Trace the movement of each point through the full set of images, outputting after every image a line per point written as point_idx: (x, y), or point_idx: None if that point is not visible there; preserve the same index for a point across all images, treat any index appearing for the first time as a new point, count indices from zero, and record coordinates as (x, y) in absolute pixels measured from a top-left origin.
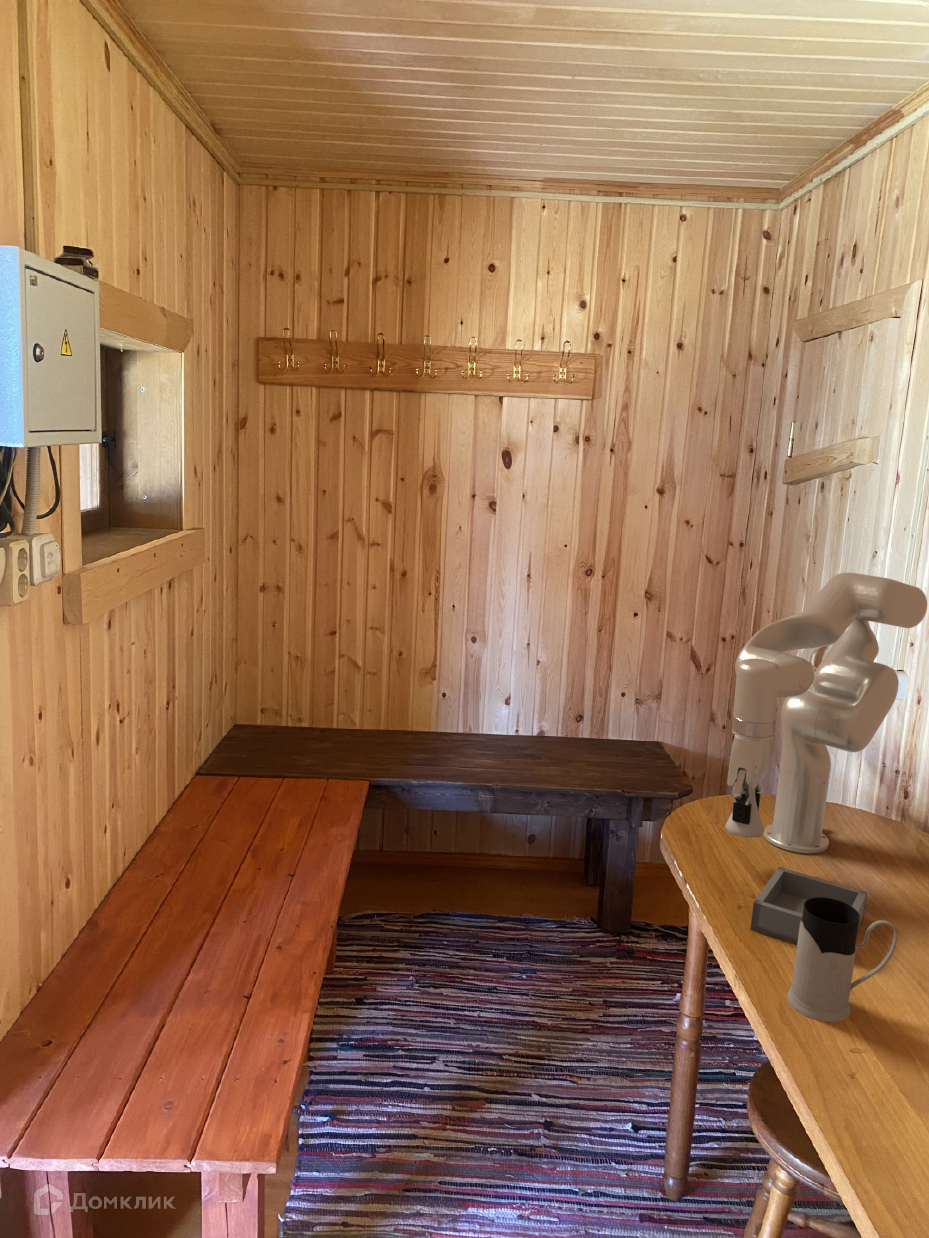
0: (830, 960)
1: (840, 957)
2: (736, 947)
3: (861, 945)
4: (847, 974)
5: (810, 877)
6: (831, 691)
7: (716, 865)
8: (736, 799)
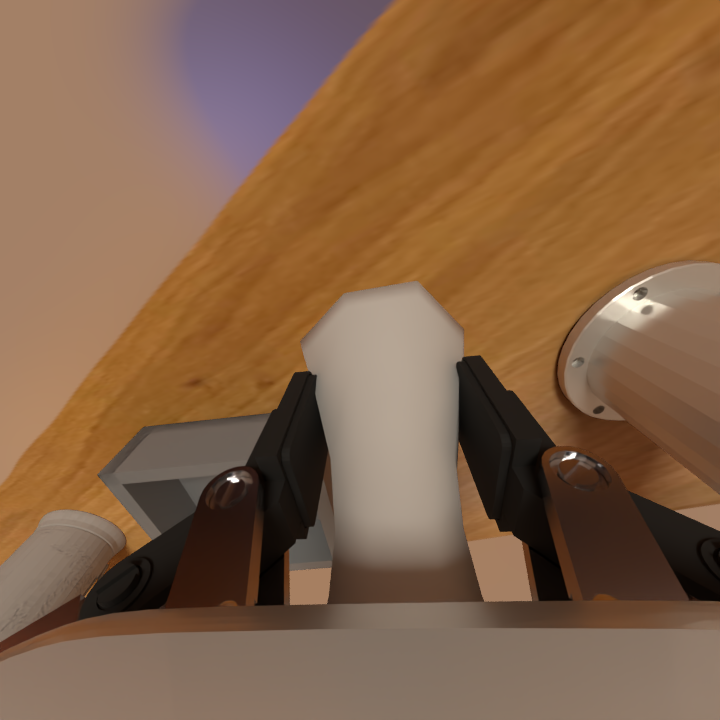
0: None
1: None
2: (67, 432)
3: None
4: None
5: (321, 505)
6: None
7: (342, 249)
8: (157, 546)
